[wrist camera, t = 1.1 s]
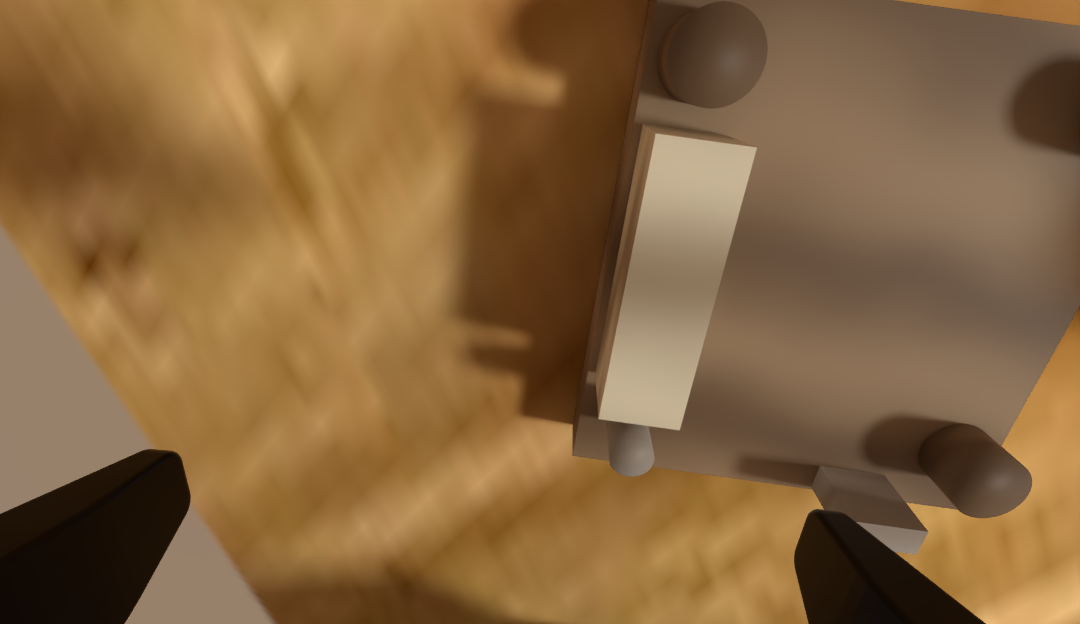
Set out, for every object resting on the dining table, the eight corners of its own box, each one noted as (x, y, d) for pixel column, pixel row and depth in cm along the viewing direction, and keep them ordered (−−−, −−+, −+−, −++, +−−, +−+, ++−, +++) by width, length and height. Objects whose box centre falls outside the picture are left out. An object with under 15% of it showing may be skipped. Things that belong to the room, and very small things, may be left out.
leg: (665, 383, 20) (680, 430, 17) (595, 373, 20) (598, 418, 17) (727, 135, 16) (756, 147, 14) (642, 124, 16) (655, 133, 14)
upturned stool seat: (933, 475, 23) (1023, 576, 18) (572, 425, 23) (572, 513, 18) (1152, 48, 17) (1374, 40, 12) (652, -20, 17) (682, -56, 12)
